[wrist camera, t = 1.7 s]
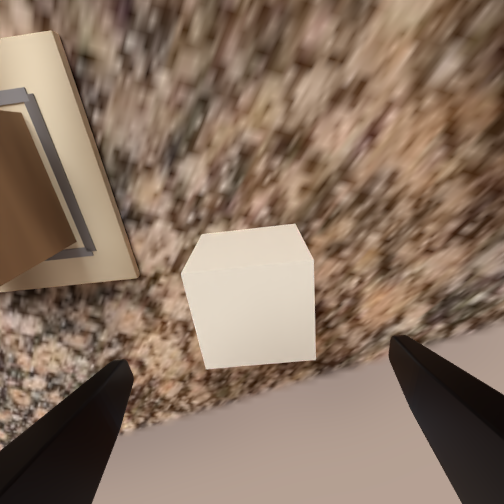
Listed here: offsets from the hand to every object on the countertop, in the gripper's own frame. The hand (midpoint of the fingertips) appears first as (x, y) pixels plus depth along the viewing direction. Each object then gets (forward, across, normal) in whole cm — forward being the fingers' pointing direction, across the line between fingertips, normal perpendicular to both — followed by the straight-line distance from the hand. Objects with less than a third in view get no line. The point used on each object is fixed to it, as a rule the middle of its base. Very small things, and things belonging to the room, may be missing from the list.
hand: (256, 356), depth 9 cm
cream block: (+6, 0, 0) cm, 7 cm away
